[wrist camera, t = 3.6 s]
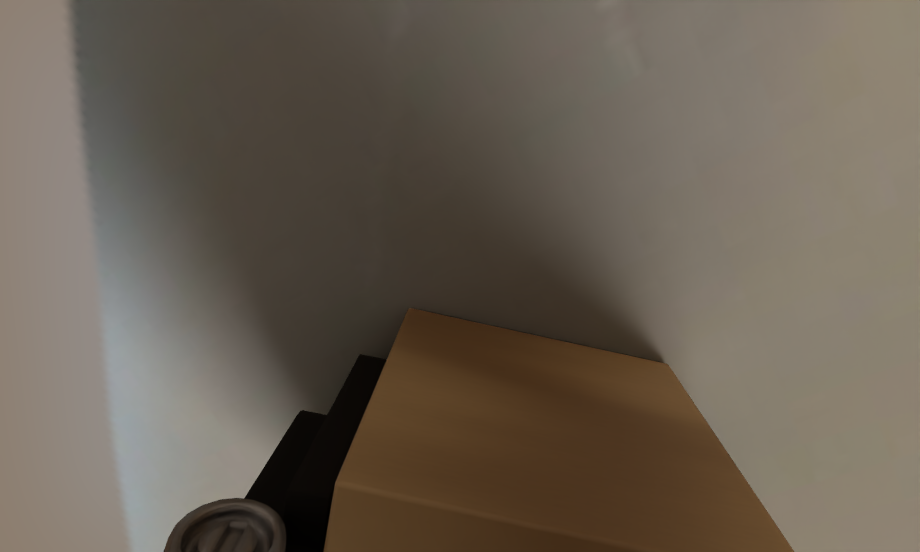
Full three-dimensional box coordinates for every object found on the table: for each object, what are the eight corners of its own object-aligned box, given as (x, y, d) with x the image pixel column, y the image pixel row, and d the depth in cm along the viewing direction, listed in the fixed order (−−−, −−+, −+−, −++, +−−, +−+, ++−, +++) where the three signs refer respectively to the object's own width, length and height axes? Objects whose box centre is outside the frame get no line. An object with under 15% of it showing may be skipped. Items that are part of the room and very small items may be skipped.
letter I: (367, 518, 12) (272, 825, 7) (408, 306, 10) (327, 497, 5) (593, 567, 12) (668, 909, 7) (668, 363, 10) (836, 607, 5)
